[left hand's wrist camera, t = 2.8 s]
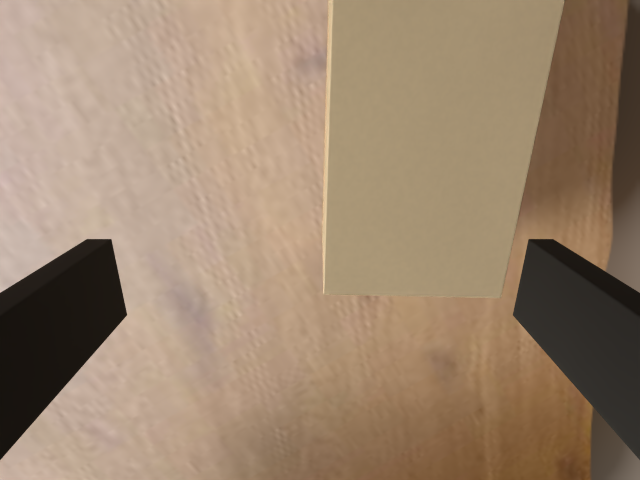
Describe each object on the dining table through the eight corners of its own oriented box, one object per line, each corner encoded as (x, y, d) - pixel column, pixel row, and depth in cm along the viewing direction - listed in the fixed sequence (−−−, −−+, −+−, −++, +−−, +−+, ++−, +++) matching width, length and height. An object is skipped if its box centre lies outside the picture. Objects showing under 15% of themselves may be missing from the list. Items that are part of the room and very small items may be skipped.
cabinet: (330, -71, 24) (337, -172, 15) (494, -66, 24) (600, -163, 15) (322, 237, 31) (323, 295, 22) (448, 240, 32) (501, 298, 22)
